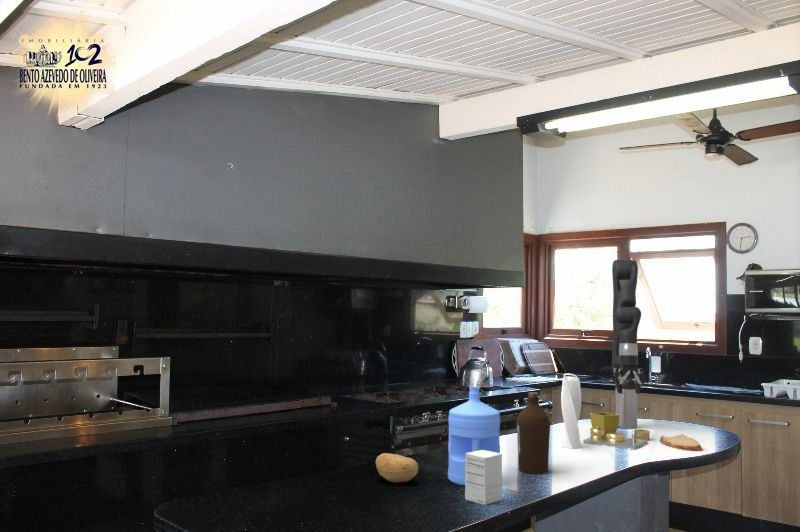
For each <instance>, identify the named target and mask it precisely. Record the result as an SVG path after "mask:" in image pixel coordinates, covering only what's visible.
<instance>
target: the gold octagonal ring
mask: <svg viewBox="0 0 800 532" xmlns="http://www.w3.org/2000/svg"><path fill="white" fill-rule="evenodd" d="M633 431H636V439H640V440H649V441H650V440H651V439H650V438H651V437H650V434H651V433H650V432H651V431H650V430H648V429H641V428H640V429H639V428H638V429H637V428H635V429H634V430H633Z"/></svg>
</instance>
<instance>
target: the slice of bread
mask: <svg viewBox="0 0 800 532" xmlns="http://www.w3.org/2000/svg"><path fill="white" fill-rule="evenodd" d="M659 443H660V444H661V443H662V444H661V445H663V444H664V445H663V446H665V445H666V446H665V447H668V446H669V448H671V447H672V448H671V449H675V448H676V449H677V450H680V449H681V451H689V452H703V449H702V446H701V443H699V441H697V440H696V439H693V438H692V437H689V436H687V435H685V434H684V433H681V434H678V435H674V436H671V437H668V436H665V435H661V436H660V438H659Z"/></svg>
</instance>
